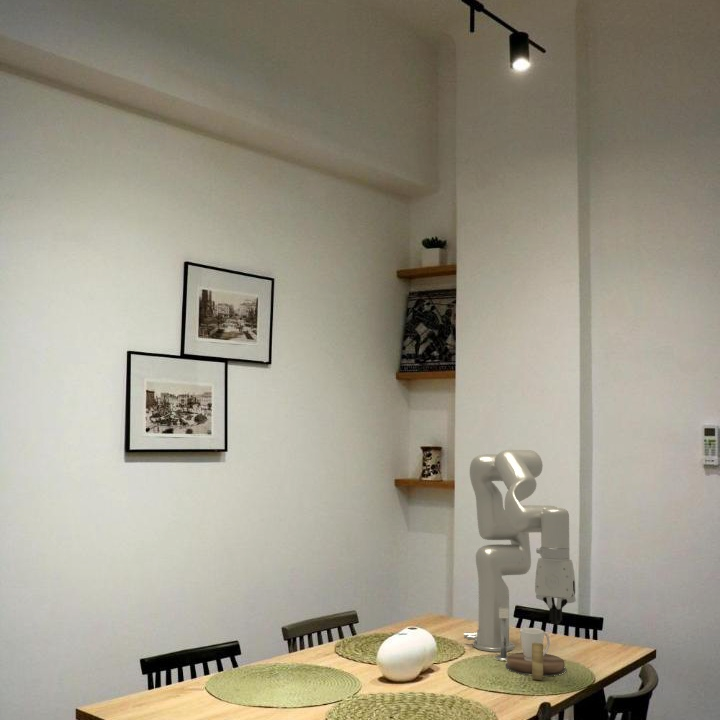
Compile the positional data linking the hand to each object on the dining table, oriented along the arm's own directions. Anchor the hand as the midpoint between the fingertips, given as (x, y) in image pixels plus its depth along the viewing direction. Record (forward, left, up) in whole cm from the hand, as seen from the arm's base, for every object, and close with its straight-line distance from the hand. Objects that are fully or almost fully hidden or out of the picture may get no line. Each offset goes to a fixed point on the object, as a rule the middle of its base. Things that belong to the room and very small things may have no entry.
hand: (555, 623), depth 230 cm
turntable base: (-5, +14, -16) cm, 22 cm away
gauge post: (-14, +22, -16) cm, 31 cm away
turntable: (-5, +11, -15) cm, 20 cm away
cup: (-5, +15, -14) cm, 21 cm away
